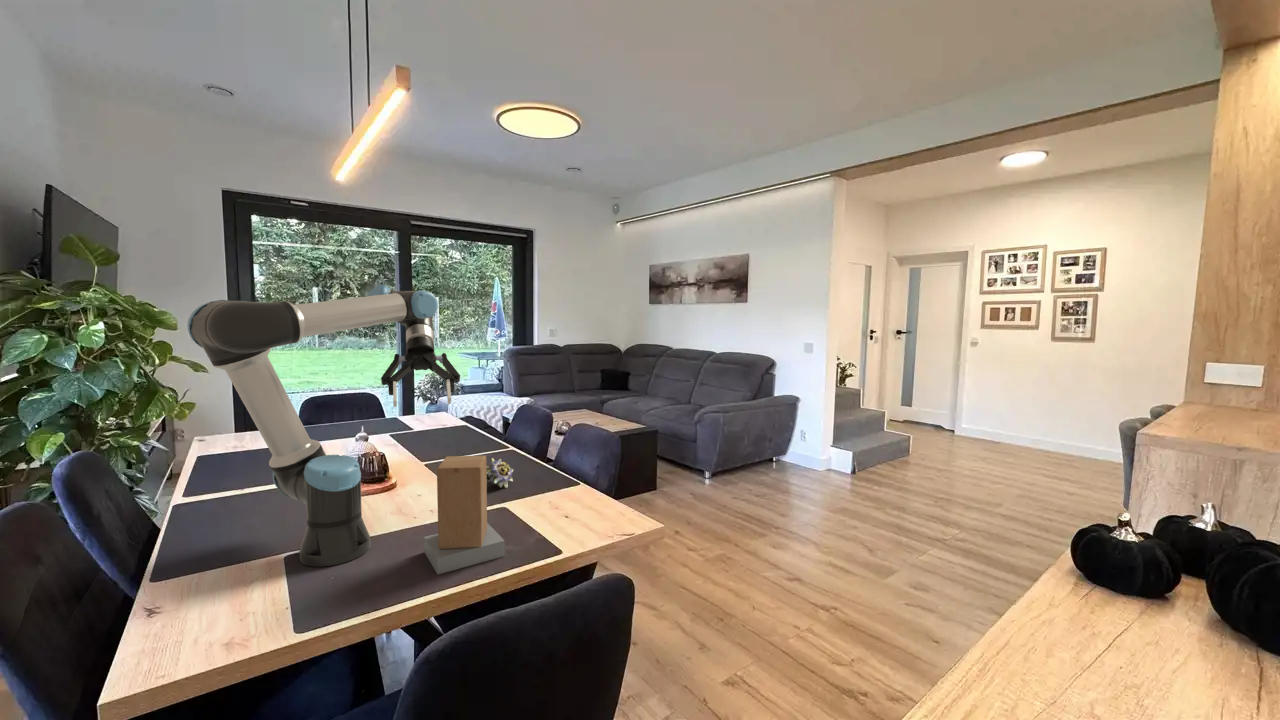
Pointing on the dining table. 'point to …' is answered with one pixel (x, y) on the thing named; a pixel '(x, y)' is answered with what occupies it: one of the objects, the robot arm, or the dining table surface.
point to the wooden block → (462, 502)
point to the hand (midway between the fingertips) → (422, 402)
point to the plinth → (463, 552)
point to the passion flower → (499, 473)
